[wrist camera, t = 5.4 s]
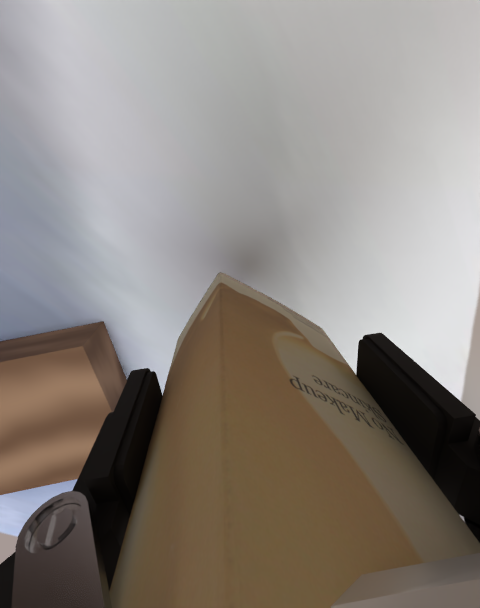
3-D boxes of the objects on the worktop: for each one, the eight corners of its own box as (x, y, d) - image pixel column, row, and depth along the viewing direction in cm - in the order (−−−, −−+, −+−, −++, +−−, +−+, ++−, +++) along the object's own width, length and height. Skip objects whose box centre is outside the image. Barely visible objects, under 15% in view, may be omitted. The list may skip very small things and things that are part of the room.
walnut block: (-42, 348, 26) (-96, 380, 22) (104, 319, 27) (82, 345, 22) (25, 452, 32) (-6, 496, 27) (147, 427, 32) (136, 466, 27)
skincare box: (324, 326, 14) (779, 894, 3) (276, 388, 15) (456, 949, 4) (213, 264, 12) (234, 1173, 1) (169, 339, 13) (-45, 1117, 2)
